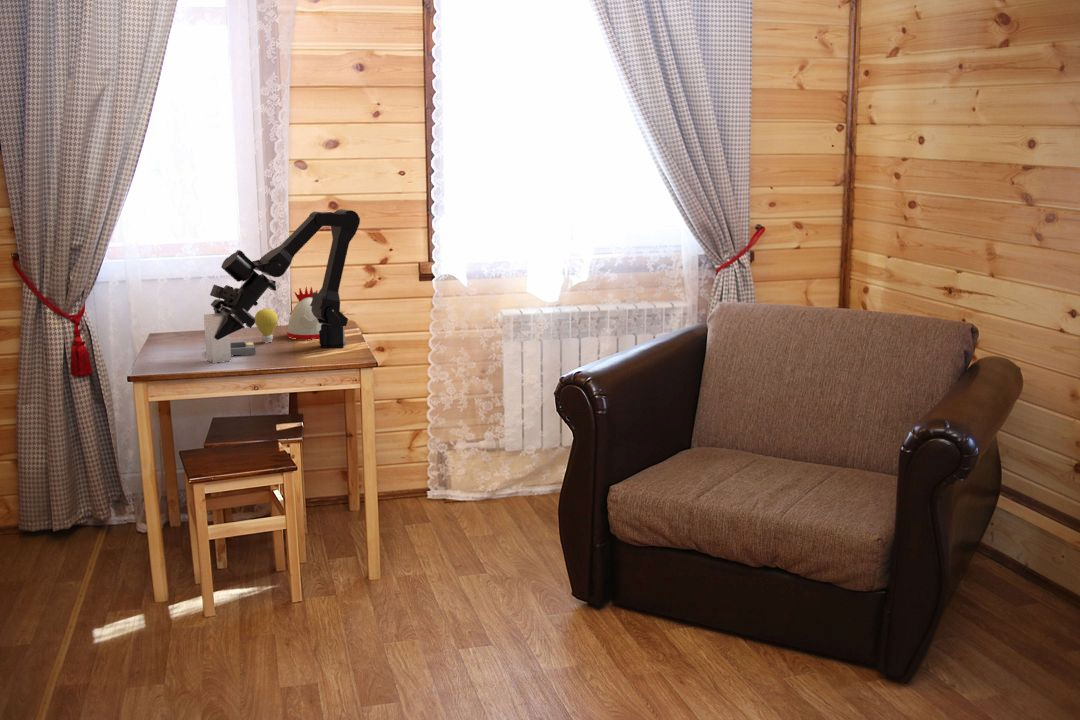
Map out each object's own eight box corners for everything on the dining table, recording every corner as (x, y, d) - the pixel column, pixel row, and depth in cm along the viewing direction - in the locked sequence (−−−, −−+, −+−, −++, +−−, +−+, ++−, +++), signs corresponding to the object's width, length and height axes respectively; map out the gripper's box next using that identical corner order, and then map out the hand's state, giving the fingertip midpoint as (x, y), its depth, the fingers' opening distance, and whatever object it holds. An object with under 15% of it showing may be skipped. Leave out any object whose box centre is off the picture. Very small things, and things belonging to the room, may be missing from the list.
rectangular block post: (224, 357, 290) (221, 312, 287) (231, 361, 286) (228, 315, 284) (206, 360, 287) (203, 314, 285) (213, 363, 283) (210, 317, 281)
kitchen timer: (288, 332, 327) (285, 284, 323) (333, 330, 329) (331, 282, 326) (286, 341, 313) (284, 290, 310) (334, 339, 316) (332, 289, 313)
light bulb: (267, 345, 307) (265, 311, 304) (250, 343, 310) (248, 309, 308) (284, 341, 312) (282, 308, 310) (267, 339, 316) (265, 306, 313)
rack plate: (252, 347, 304) (252, 340, 303) (255, 354, 294) (255, 346, 294) (212, 350, 300) (212, 342, 300) (214, 357, 291) (213, 349, 290)
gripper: (215, 269, 291) (178, 313, 287) (240, 277, 277) (201, 323, 273) (245, 295, 298) (208, 338, 294) (271, 304, 283) (233, 350, 279)
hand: (212, 337), depth 285 cm, fingers closed on rectangular block post, 5 cm apart
